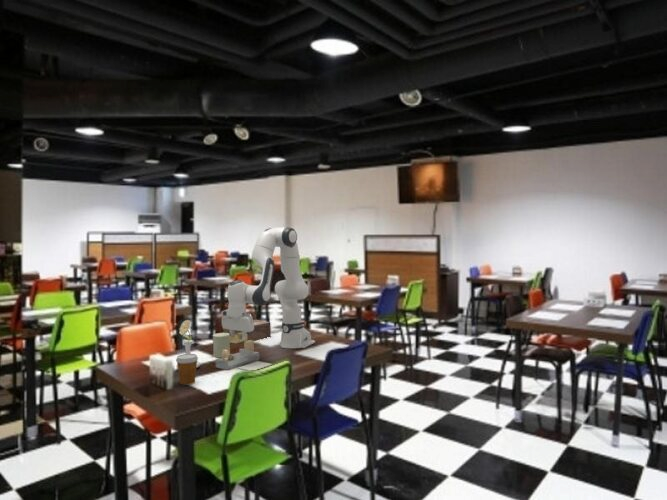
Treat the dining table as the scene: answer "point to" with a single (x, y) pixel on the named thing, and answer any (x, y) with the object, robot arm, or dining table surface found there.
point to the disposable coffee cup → (187, 368)
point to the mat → (254, 366)
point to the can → (220, 343)
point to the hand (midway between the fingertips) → (238, 338)
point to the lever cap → (237, 338)
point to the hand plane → (238, 357)
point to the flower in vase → (187, 343)
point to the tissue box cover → (255, 331)
